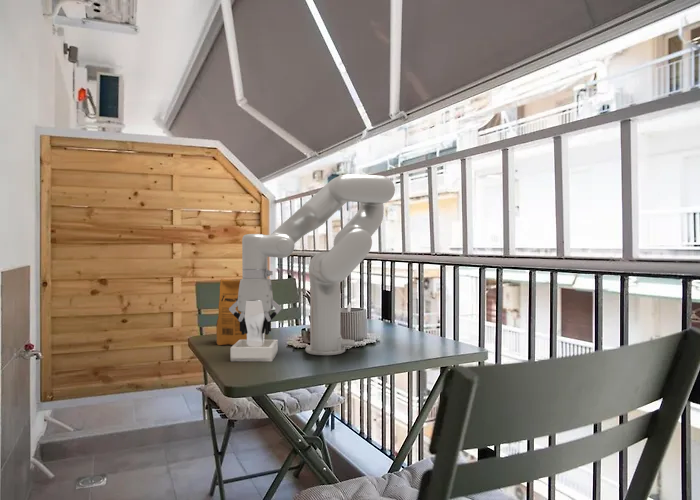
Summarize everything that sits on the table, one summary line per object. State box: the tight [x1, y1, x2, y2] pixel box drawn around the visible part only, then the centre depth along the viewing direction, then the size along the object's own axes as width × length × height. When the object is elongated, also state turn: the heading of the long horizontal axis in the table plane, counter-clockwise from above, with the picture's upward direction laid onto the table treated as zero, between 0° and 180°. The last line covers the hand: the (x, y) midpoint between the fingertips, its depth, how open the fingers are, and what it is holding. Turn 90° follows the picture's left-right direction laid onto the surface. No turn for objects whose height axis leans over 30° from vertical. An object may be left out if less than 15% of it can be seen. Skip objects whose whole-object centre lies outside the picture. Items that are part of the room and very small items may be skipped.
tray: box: [230, 339, 279, 362], centre depth 149 cm, size 12×12×4 cm
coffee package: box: [215, 278, 247, 346], centre depth 170 cm, size 10×12×22 cm
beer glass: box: [244, 300, 266, 347], centre depth 149 cm, size 7×7×15 cm
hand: (255, 333), depth 149 cm, fingers closed on beer glass, 6 cm apart
